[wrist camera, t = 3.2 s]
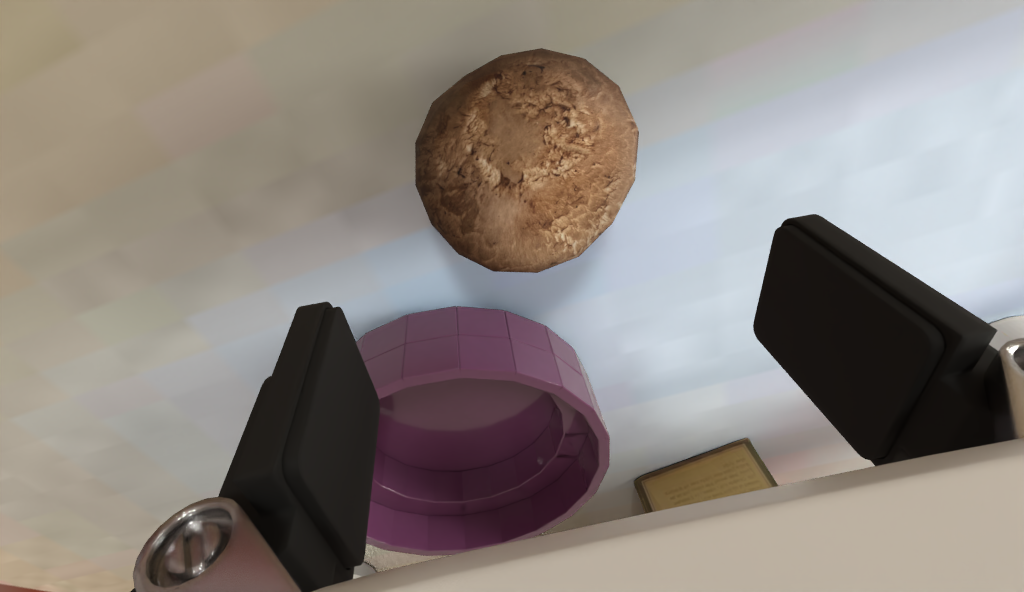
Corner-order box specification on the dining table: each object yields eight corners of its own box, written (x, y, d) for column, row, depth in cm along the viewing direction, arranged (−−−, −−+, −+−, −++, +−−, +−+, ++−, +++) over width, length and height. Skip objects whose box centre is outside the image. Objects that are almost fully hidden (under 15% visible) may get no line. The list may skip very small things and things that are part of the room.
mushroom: (608, 291, 20) (611, 298, 14) (435, 255, 22) (369, 248, 16) (649, 103, 20) (670, 27, 14) (467, 79, 21) (412, -1, 15)
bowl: (278, 328, 23) (245, 405, 19) (581, 276, 24) (611, 341, 20) (369, 497, 32) (359, 575, 28) (588, 458, 33) (609, 528, 29)
